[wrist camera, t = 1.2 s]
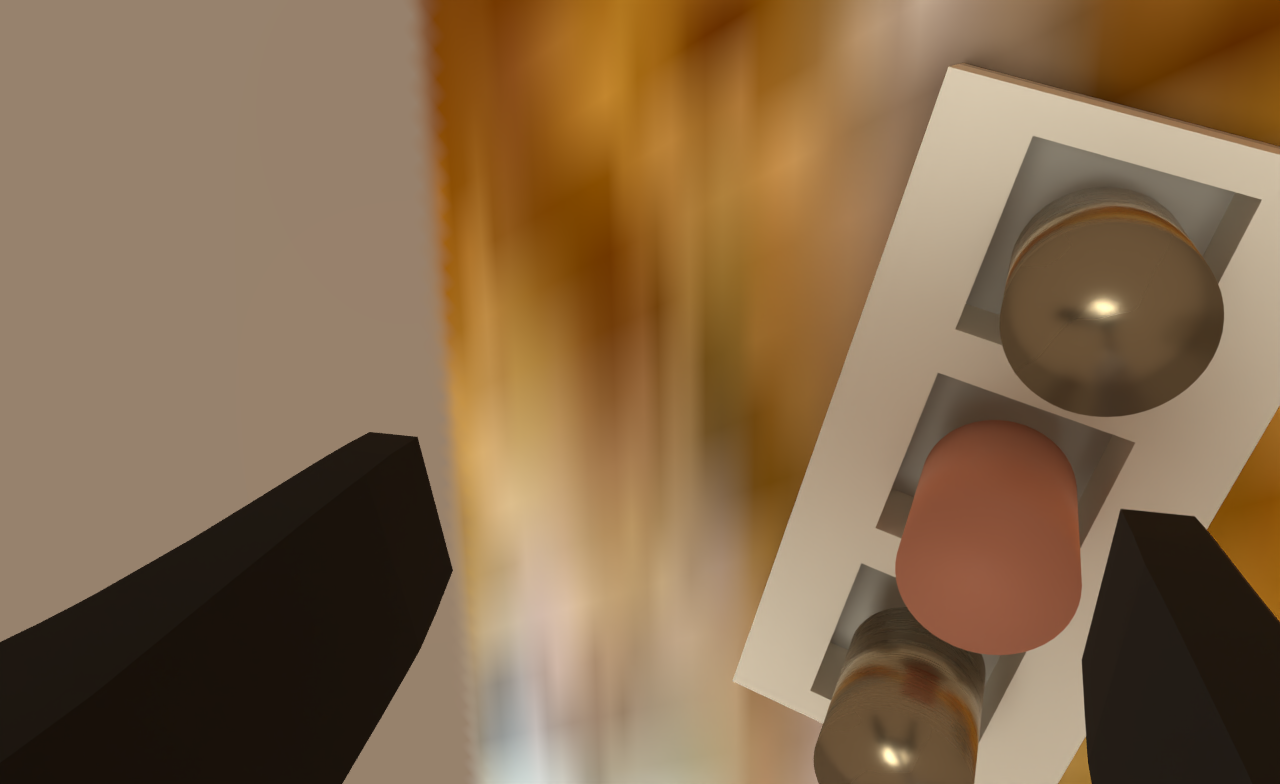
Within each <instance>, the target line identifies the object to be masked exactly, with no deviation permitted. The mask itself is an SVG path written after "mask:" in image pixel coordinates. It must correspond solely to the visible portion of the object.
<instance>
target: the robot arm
mask: <svg viewBox="0 0 1280 784" xmlns="http://www.w3.org/2000/svg"><path fill="white" fill-rule="evenodd" d="M452 571H453V569H452V566H451V562H450V558H449V554H448V551H447V547H446V543H445V539H444V535H443V532H442V528H441V524H440V520H439V517H438V513H437V509H436V505H435V502H434V498H433V494H432V490H431V486H430V483H429V479H428V475H427V471H426V467H425V464H424V460H423V457H422V452H421V449H420V445H419V441H418V437H413V436H402V435H393V434H383V433H373V432H369V433H367V434H365V435H363V436H362V437H360V438H358V439H356V440H354V441H352V442H350V443H348V444H347V445H345V446H343V447H341V448H340V449H338V450H336V451H334V452H333V453H331V454H329V455H328V456H326V457H324V458H323V459H321V460H319V461H318V462H316V463H314V464H313V465H311V466H309V467H308V468H306V469H305V470H303V471H301V472H300V473H298V474H296V475H295V476H293V477H292V478H290V479H288V480H287V481H285V482H283V483H282V484H281V485H279V486H277V487H276V488H274V489H272V490H271V491H269V492H267V493H266V494H264V495H263V496H261V497H259V498H258V499H256V500H255V501H253V502H251V503H250V504H248V505H247V506H245V507H243V508H242V509H240V510H238V511H237V512H235V513H233V514H232V515H230V516H228V517H227V518H225V519H224V520H222V521H220V522H219V523H217V524H215V525H214V526H212V527H211V528H209V529H207V530H206V531H204V532H202V533H201V534H199V535H197V536H196V537H194V538H192V539H191V540H189V541H187V542H186V543H184V544H182V545H180V546H179V547H177V548H175V549H173V550H172V551H170V552H168V553H166V554H165V555H163V556H161V557H159V558H158V559H156V560H154V561H152V562H151V563H149V564H147V565H145V566H144V567H142V568H140V569H138V570H137V571H135V572H133V573H131V574H130V575H128V576H126V577H124V578H123V579H121V580H119V581H117V582H116V583H114V584H112V585H110V586H109V587H107V588H105V589H103V590H102V591H100V592H98V593H96V594H94V595H93V596H91V597H89V598H87V599H85V600H83V601H82V602H79V603H78V604H76V605H74V606H72V607H70V608H68V609H67V610H64V611H62V612H60V613H58V614H56V615H54V616H52V617H51V618H49V619H47V620H45V621H43V622H41V623H39V624H37V625H35V626H33V627H31V628H29V629H26V630H24V631H22V632H20V633H18V634H16V635H14V636H12V637H10V638H8V639H6V640H4V641H2V642H0V784H342V783H343V781H344V780H345V778H346V776H347V774H348V773H349V771H350V770H351V768H352V766H353V764H354V763H355V761H356V759H357V758H358V756H359V754H360V753H361V751H362V749H363V747H364V746H365V744H366V742H367V741H368V739H369V737H370V736H371V734H372V732H373V731H374V729H375V727H376V725H377V724H378V722H379V720H380V719H381V717H382V715H383V714H384V712H385V710H386V708H387V707H388V705H389V703H390V701H391V700H392V698H393V696H394V694H395V693H396V691H397V689H398V687H399V686H400V684H401V682H402V681H403V679H404V677H405V675H406V674H407V672H408V670H409V668H410V666H411V665H412V663H413V661H414V659H415V658H416V656H417V654H418V652H419V650H420V648H421V646H422V644H423V642H424V639H425V637H426V635H427V632H428V630H429V627H430V626H431V623H432V621H433V619H434V616H435V614H436V612H437V609H438V607H439V604H440V601H441V599H442V596H443V594H444V591H445V589H446V586H447V584H448V581H449V579H450V576H451V574H452ZM1082 676H1083V694H1084V712H1085V726H1086V740H1087V754H1088V764H1089V770H1090V775H1091V781H1092V784H1280V622H1279V621H1278V619H1277V618H1276V617H1275V616H1274V614H1273V613H1272V612H1271V611H1270V609H1269V608H1268V607H1267V606H1266V604H1265V603H1264V602H1263V601H1262V599H1261V598H1260V597H1259V596H1258V594H1257V593H1256V592H1255V591H1254V589H1253V588H1252V587H1251V586H1250V584H1249V583H1248V582H1247V580H1246V579H1245V578H1244V577H1243V575H1242V574H1241V573H1240V572H1239V570H1238V569H1237V568H1236V566H1235V565H1234V564H1233V563H1232V561H1231V560H1230V559H1229V558H1228V556H1227V555H1226V554H1225V552H1224V551H1223V550H1222V549H1221V547H1220V546H1219V545H1218V543H1217V542H1216V541H1215V540H1214V538H1213V537H1212V536H1211V535H1210V533H1209V532H1208V531H1207V530H1206V528H1205V527H1204V526H1203V525H1202V524H1201V523H1200V521H1199V520H1198V519H1197V518H1196V517H1195V516H1188V515H1178V514H1168V513H1158V512H1148V511H1139V510H1129V509H1120V513H1119V517H1118V520H1117V524H1116V528H1115V532H1114V536H1113V540H1112V544H1111V548H1110V552H1109V555H1108V559H1107V563H1106V567H1105V571H1104V575H1103V579H1102V583H1101V587H1100V591H1099V594H1098V598H1097V602H1096V606H1095V610H1094V614H1093V618H1092V622H1091V626H1090V629H1089V633H1088V637H1087V641H1086V645H1085V649H1084V653H1083V657H1082Z"/></svg>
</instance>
